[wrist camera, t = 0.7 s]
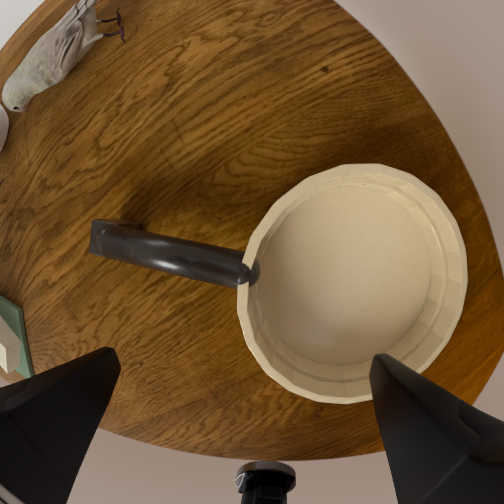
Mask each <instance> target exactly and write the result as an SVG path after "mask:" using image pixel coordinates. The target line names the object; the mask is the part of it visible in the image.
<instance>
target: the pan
mask: <svg viewBox="0 0 504 504" xmlns="http://www.w3.org/2000/svg"><path fill="white" fill-rule="evenodd" d="M255 258H256V259H257V260H258V262H259V264H260V268H261V273H260V277H259V279H258V281H257V282H256V284H255V285H253V286H252V287H250V288H249V282H247V283H245V284H242V285H238V294H237V313H238V316H239V320H240V323H241V327H242V331H243V334H244V338H245V341H246V344H247V346H248V348H249V349H250V351H251V352H252V354H253V355H254V357H255V358H256V360H257V361H258V363H259V364H260V366H261V367H262V369H263V370H264V371H265V372H266V373H267V374H268V375H269V376H270V377H272V378H273V379H274V380H276V381H277V382H278V383H279V384H281V385H282V386H283V387H284V388H286V389H287V390H288V391H290V392H293V393H295V394H298V395H301V396H303V397H306V398H308V399H311V400H314V401H318V402H327V403H339V404H350V403H356V402H362V401H367V400H372V399H373V397H372V392H371V386H370V381H369V372H370V368H371V364H372V360H373V357H374V355H375V354H380V353H387V354H389V355H390V356H392V357H393V358H395V359H397V360H398V361H400V362H401V363H403V364H405V365H406V366H408V367H409V368H411V369H413V370H414V371H416V372H417V373H419V374H420V373H422V372H423V371H424V370H425V369H427V368H428V366H430V365H431V363H432V362H433V361H434V360H435V358H436V357H437V356H438V355H439V353H440V352H441V351H442V350H443V348H444V347H445V346H446V344H447V343H448V341H449V339H450V337H451V335H452V333H453V331H454V329H455V327H456V325H457V323H458V320H459V318H460V316H461V313H462V309H463V304H464V299H465V294H466V289H467V282H468V276H467V257H466V248H465V245H464V242H463V239H462V236H461V233H460V230H459V227H458V224H457V221H456V220H455V218H454V217H453V215H452V214H451V212H450V211H449V209H448V208H447V206H446V205H445V203H444V202H443V201H442V199H441V198H440V196H439V195H438V194H437V193H436V192H435V191H433V190H432V189H431V188H429V187H428V186H427V185H426V184H424V183H423V182H422V181H420V180H419V179H418V178H416V177H415V176H414V175H412V174H410V173H407V172H404V171H401V170H398V169H395V168H392V167H389V166H386V165H383V164H344V165H340V166H337V167H334V168H331V169H328V170H326V171H323V172H320V173H317V174H315V175H312V176H309V177H308V178H305V179H304V180H303V181H302V182H300V183H299V184H298V185H296V186H295V187H294V188H292V189H291V190H290V191H288V192H287V193H286V194H285V195H283V196H282V197H281V198H279V199H278V200H277V201H276V202H275V203H274V204H273V205H272V207H271V208H270V210H269V211H268V212H267V214H266V215H265V217H264V218H263V219H262V221H261V222H260V224H259V225H258V226H257V228H256V229H255V231H254V232H253V233H252V236H251V237H250V240H249V243H248V246H247V249H246V252H245V255H244V258H243V261H242V263H244V264H246V265H247V266H248V267H249V268H250V270H251V269H252V266H253V263H254V261H255Z"/></svg>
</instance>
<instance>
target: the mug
mask: <svg viewBox="0 0 504 504" xmlns="http://www.w3.org/2000/svg"><path fill="white" fill-rule="evenodd" d="M8 127H9V120H8V116H7V114H6V112H5V110H4V109H3V107H2V106H1V105H0V153H1V151H2V149H3V146H4V144H5V141H6V137H7V133H8Z"/></svg>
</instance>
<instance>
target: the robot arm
mask: <svg viewBox="0 0 504 504" xmlns="http://www.w3.org/2000/svg"><path fill="white" fill-rule="evenodd" d="M120 371H121V365H120V363H119V360H118V357H117V354H116V351H115V350H114V349H113V348H110V347H102V348H100V349H97V350H95V351H93V352H90V353H88V354H86V355H83V356H81V357H78V358H76V359H74V360H71V361H69V362H66V363H64V364H62V365H59V366H57V367H54V368H52V369H49V370H47V371H45V372H42V373H40V374H37V375H35V376H32V377H29V378H27V379H24V380H22V381H19V382H16V383H14V384H11V385H7V386H4V387H1V388H0V504H66V503H67V500H68V498H69V495H70V492H71V490H72V487H73V484H74V481H75V479H76V476H77V474H78V471H79V469H80V467H81V464H82V462H83V459H84V457H85V455H86V452H87V450H88V448H89V445H90V443H91V441H92V439H93V436H94V434H95V432H96V430H97V428H98V425H99V423H100V421H101V419H102V417H103V415H104V413H105V410H106V408H107V406H108V404H109V402H110V399H111V396H112V393H113V391H114V388H115V385H116V382H117V380H118V377H119V374H120ZM369 381H370V386H371V392H372V397H373V403H374V409H375V414H376V418H377V422H378V426H379V429H380V433H381V436H382V440H383V443H384V447H385V451H386V454H387V458H388V462H389V466H390V470H391V474H392V478H393V482H394V487H395V491H396V496H397V500H398V504H504V422H503V421H501V420H499V419H497V418H494V417H492V416H490V415H488V414H486V413H484V412H482V411H480V410H478V409H476V408H475V407H473V406H471V405H469V404H468V403H466V402H464V401H463V400H461V399H458V397H456V396H454V395H453V394H451V393H450V392H448V391H446V390H445V389H443V388H441V387H440V386H438V385H437V384H435V383H433V382H432V381H430V380H429V379H427V378H425V377H424V376H422V375H421V374H419V373H417V372H416V371H414V370H413V369H411V368H409V367H408V366H406V365H405V364H403V363H401V362H400V361H398V360H397V359H395V358H393V357H392V356H390V355H389V354H387V353H380V354H375V355H374V357H373V360H372V364H371V368H370V372H369ZM294 481H295V476H292V475H280V474H271V473H263V472H256V471H249V470H248V471H245V474H244V476H243V479H242V482H241V484H240V487H239V489H238V493H241V494H243V495H242V501H241V504H287V491H288V490H289V488H290V487H291V485H292V484H293V482H294Z"/></svg>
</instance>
